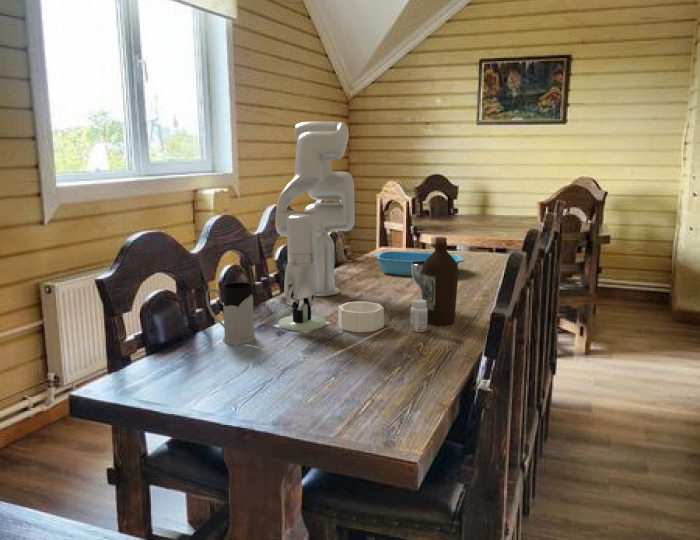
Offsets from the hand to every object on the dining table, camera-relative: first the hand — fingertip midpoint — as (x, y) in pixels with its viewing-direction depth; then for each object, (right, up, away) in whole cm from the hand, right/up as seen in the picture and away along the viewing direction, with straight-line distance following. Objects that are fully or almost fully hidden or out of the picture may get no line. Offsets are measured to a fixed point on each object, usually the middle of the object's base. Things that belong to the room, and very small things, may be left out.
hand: (302, 320), depth 178 cm
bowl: (+17, -2, -1) cm, 17 cm away
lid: (0, -1, 0) cm, 1 cm away
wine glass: (+37, +2, +19) cm, 42 cm away
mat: (0, -2, 0) cm, 2 cm away
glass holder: (-18, -4, -11) cm, 22 cm away
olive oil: (+40, -1, +5) cm, 41 cm away
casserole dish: (+42, +13, +75) cm, 87 cm away
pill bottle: (+33, -3, -3) cm, 34 cm away
